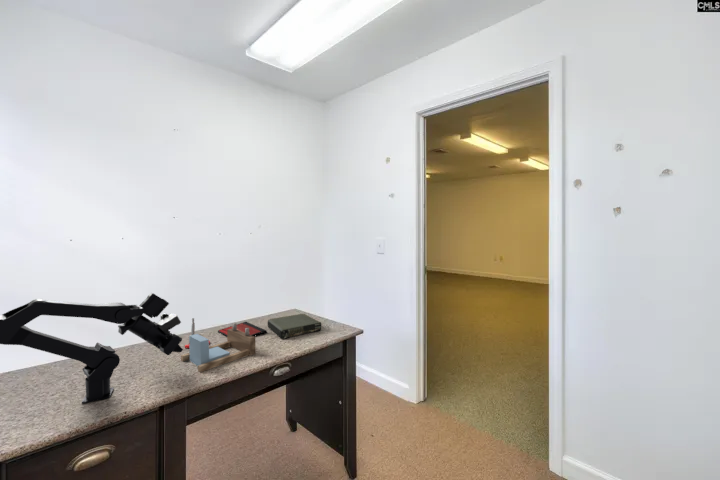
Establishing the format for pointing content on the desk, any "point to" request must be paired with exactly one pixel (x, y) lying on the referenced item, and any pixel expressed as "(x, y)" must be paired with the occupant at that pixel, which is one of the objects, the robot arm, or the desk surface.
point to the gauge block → (203, 350)
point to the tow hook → (192, 331)
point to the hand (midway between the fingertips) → (181, 350)
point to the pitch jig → (235, 340)
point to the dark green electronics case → (293, 325)
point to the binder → (241, 327)
